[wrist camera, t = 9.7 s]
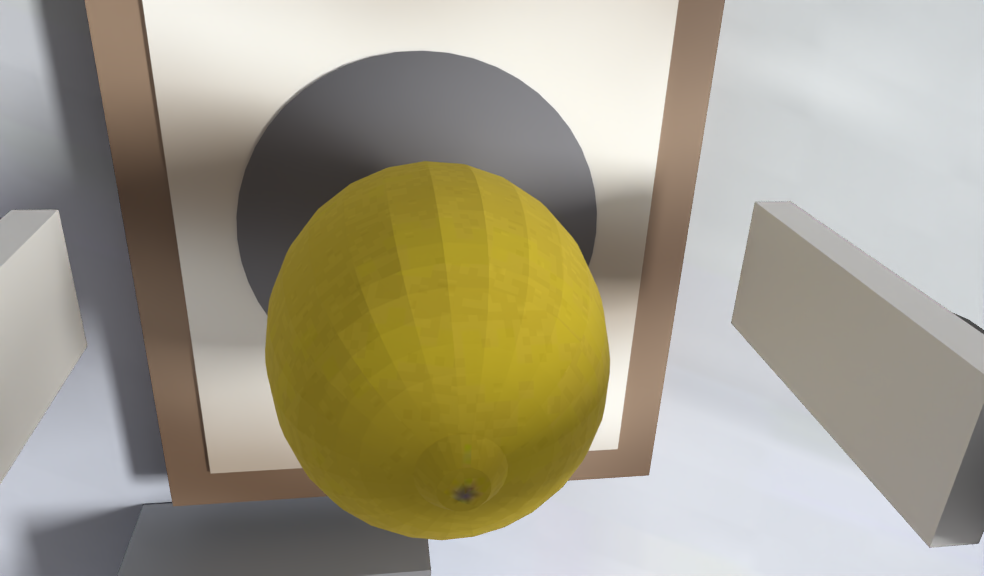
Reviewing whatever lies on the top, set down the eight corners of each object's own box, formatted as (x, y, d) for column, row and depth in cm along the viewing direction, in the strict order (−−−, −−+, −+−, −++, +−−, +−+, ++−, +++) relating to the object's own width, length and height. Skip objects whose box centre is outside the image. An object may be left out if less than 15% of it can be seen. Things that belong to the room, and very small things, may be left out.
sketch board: (80, -154, 14) (52, -160, 13) (718, -120, 16) (748, -122, 14) (183, 474, 20) (171, 511, 19) (634, 447, 22) (651, 479, 21)
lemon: (279, 344, 17) (220, 653, 10) (299, 94, 15) (241, 264, 8) (521, 364, 18) (621, 654, 11) (574, 135, 16) (740, 315, 9)
